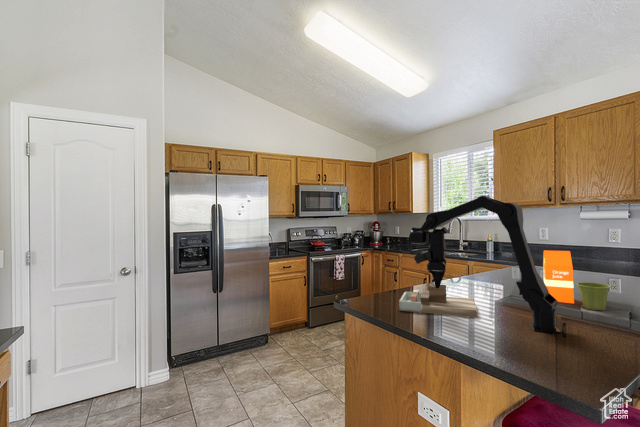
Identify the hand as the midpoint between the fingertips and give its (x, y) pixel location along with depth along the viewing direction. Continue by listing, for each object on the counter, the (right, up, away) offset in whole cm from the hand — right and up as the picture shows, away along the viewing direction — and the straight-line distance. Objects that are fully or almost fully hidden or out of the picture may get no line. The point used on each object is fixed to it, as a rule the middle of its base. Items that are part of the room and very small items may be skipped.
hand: (437, 285), depth 117 cm
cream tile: (-5, -6, +6) cm, 10 cm away
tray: (-9, -9, +4) cm, 13 cm away
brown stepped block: (-1, -6, 0) cm, 6 cm away
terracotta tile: (-8, -6, -1) cm, 10 cm away
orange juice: (+52, -8, +7) cm, 53 cm away
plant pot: (+55, -7, -6) cm, 56 cm away
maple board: (+4, -8, -2) cm, 9 cm away
